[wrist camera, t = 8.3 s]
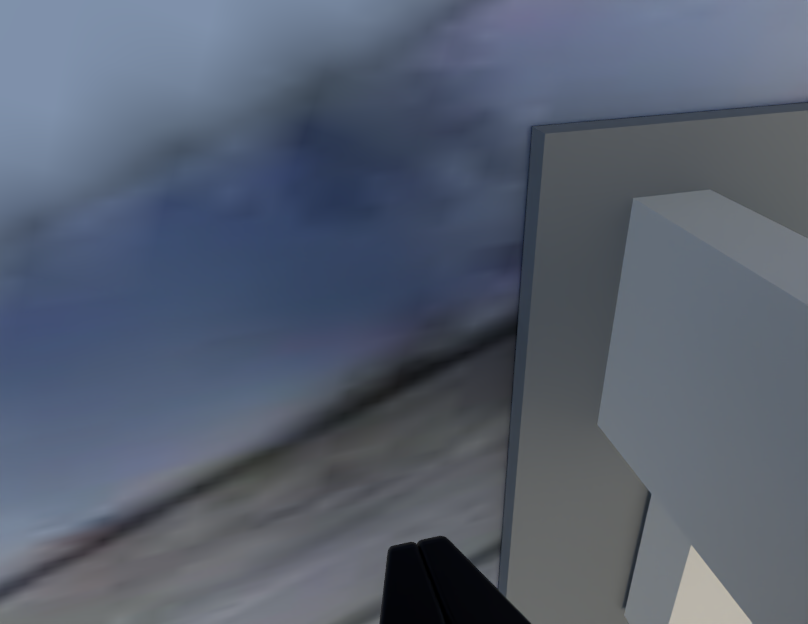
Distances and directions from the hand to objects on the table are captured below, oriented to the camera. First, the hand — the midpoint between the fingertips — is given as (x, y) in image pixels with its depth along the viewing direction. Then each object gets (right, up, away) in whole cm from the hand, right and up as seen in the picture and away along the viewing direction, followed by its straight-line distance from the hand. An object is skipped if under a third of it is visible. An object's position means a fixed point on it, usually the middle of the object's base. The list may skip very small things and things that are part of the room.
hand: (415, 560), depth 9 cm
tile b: (+6, +3, +6) cm, 9 cm away
